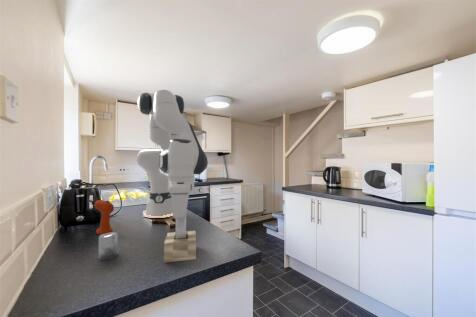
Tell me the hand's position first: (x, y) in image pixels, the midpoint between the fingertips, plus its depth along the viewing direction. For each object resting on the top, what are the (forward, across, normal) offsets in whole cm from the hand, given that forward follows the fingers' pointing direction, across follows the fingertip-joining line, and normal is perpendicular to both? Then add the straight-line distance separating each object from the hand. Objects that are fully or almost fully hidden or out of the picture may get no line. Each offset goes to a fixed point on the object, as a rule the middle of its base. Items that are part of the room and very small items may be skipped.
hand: (181, 224), depth 70 cm
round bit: (+10, -4, -24) cm, 26 cm away
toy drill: (+10, -32, -38) cm, 51 cm away
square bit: (+4, 0, 0) cm, 4 cm away
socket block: (+10, 0, 0) cm, 10 cm away
